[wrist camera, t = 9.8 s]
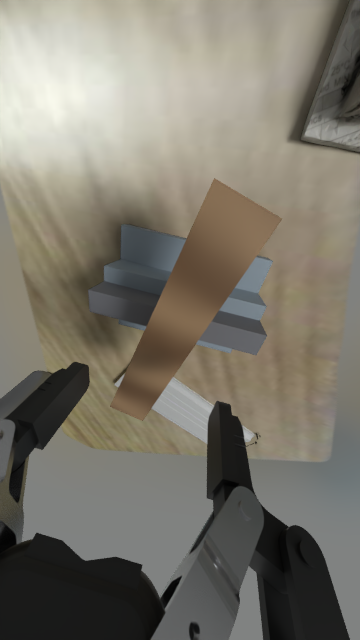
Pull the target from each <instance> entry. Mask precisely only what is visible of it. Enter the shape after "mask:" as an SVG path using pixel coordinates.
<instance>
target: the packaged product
mask: <svg viewBox="0 0 360 640" xmlns="http://www.w3.org/2000/svg"><path fill="white" fill-rule="evenodd" d="M300 140H303V141H306V142H311V143H316V144H321V145H327V146H332V147H338V148H342V149H347V150H352V151H356V152H360V0H350V1H349V4H348V7H347V9H346V12H345V15H344V17H343V20H342V23H341V25H340V28H339V31H338V34H337V36H336V39H335V41H334V44H333V47H332V50H331V52H330V55H329V58H328V61H327V64H326V66H325V69H324V72H323V75H322V77H321V80H320V83H319V86H318V89H317V91H316V94H315V97H314V100H313V103H312V105H311V108H310V111H309V114H308V117H307V120H306V123H305V126H304V129H303V132H302V136H301V139H300Z"/></svg>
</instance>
